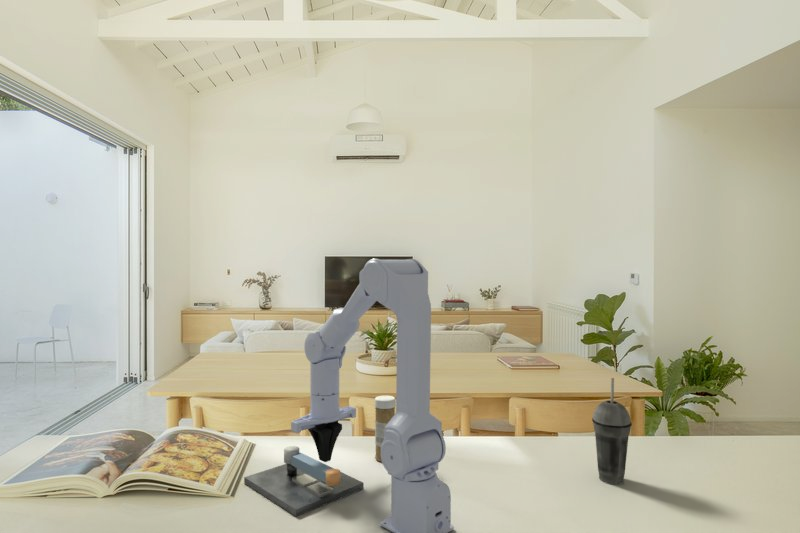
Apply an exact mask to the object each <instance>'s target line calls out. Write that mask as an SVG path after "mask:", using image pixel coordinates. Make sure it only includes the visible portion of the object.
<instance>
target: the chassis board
mask: <svg viewBox="0 0 800 533" xmlns="http://www.w3.org/2000/svg"><path fill="white" fill-rule="evenodd" d="M324 464H325V463H324ZM325 465H327V463H326V464H325ZM243 478H244V481H243V482H244V484H245V485H246V486H248V487H250V488H251V489H252V490H254V491H255V492H257V493H259V494H261V495H262V496H263V497H264V498H266V499H268V500H270V501H271V502H272V503H273V504H276V505H278V506H279V507H280V508H282V509H283V510H285V511H287V512H288V513H289V514H291V515H293V516H294V517H299V516H301V515H304V514H306V513H309V512H311V511H314V510H315V509H318V508H320V507H323V506H326V505H328V504H330V503H332V502H335V501H337V500H340V499H343V498H346V497H348V496H350V495H352V494H354V493H357V492H360V491H362V490H364V482H363V481H361V480H358V478H357V479H356V478H354V477H352V476H351V475H348V474H346V473H344V472H342V471H340V484H339V485H336V486H328V485H326V483H325V482H323V481H321V480H319V479H317V478H315V477H313V476H311V475H310V474H308V473H306V472H304V471H302V470H300V469H298V468H296V467H294V466H292V465H291V464H286V463H284V464H281V465H279V466H274V467H272V468H269V469H266V470H263V471H260V472H257V473H253V474H250V475H247V476H244V477H243Z"/></svg>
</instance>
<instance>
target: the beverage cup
mask: <svg viewBox="0 0 800 533" xmlns="http://www.w3.org/2000/svg"><path fill="white" fill-rule="evenodd" d="M614 385H615V378H614V377H611V378H610V400H605V401H603V402H601V403H599V404H597V406H596V408H595V409H594V412H593V414H592V419H591V421H592V425H593V429H594V433H595V434H594V436H595V448H596V459H597V460H596V462H597V471H598V480H600V482H603V483H605V484H609V485H621V484H623V483H624V480H625V473H626V465H627V464H626V463H627V456H628V446H629V445H628V444H629V435H630V433H631V429H632V428H631V427H632V425H633V424H632V421H631V420H632V419H631V416H630V413H629V411H628V410H627V408H626V407H625V406H624V405H623V404H621V403H620V402H618V401H616V400H614V394H615V393H614V392H615V386H614Z"/></svg>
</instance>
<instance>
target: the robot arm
mask: <svg viewBox="0 0 800 533" xmlns="http://www.w3.org/2000/svg"><path fill="white" fill-rule="evenodd" d="M358 277H359V280H358V281H359V284H358V285H357V287H356V288H355V290H354V291H353V293H352V294H351V296H350V298H349V299H348V301H347V302H346V304H345V306H344V307H338V308H335V309H333V310H331V314H330V316H329V317H328V318H327V319H326V321H325V323H324V324H323V325H322V326H321V327H320V329H319V330H318V331H315V332H309V333H307V336H306V338H305V340H304V345H303V346H304V353H305V357H306V358H307V360H308V361H309V363H310V369H309V370H310V383H309V384H310V385H309V386H310V390H309V391H310V392H309V393H310V404H309V405H310V410H309V413H308V414H305V415H304V416H301V417H299V418H296V419H294V420H293V419H292V420H291V421H290V430H291V432H293V433H295V434H299V433H302V431H306V430H308V432H309V433H310V435H311V437H312V439H313V442H314V444H315V446H316V450H317V455H318V458H319V460H320V462H322V463H323V462H324V463H327V462H328V463H329V462H330V461H331V459H332V455H333V451H334V448H335V444H336V442H337V440H338V437H339V435H340V433H341V432H342V430H343V424H342V423H339V421H342V420H346V419H350V418H351V419H353V418H356V417H357V408H356V407H354V406H351V405H349V406H344V407H340V369H341V368H342V366H343V358H344V357H345V354H346V349H347V347H346V345H347V344H348V343H349V341H350V339H351V338H352V337H353V336H354V335H355V334H356V333H357V331H359V329H360V319H361V318H362V317H363V315H364V314H365V313H367V312H368V310H370V309H371V307H372V306H374V304H375V303H376V302H378V303H379V304H381V305H382V306H383V307H385V308H386V309H387V310H388V309H389V310H391V312H392V313H393V314H394V315H395V316H396V319H397V320H396V321H397V322H396V389H395V390H396V391H395V394H396V395H395V396H396V397H395V399H396V406H395V414H394V416H393V417H392V418H391V420H390V421H389V422H388V424H387V425H386V427H385V436H384V440H383V442H382V445H381V460H382V462H381V463H382V465H383V467H384V469H385V470H386V471H387V474H388V475H389V476H391V480H390V481H391V482H390V484H391V485H390V486H391V488H390V489H391V490H390V491H391V492H390V493H391V494H390V495H391V496H390V497H391V498H390V499H391V500H390V502H391V503H390V505H391V506H390V509H391V510H390V512H391V513H390V514H391V515H390V516H389V517H388V518H385V519H383V520H381V521H380V522H379V525H380V527H383V528H385V529H386V530H388V531H390V532H392V533H450V532H451V531H453V530H454V529H455V528H454V525H453V524H451V520H452V518H451V514H452V512H451V510H452V508H451V506H452V504H451V502H452V501H451V498H452V495H451V489H450V486H449V485H448V484H447V483H445V482H444V481H443V480H441V479H440V477H439V476H438V475H437V473H436V472H437V471H438V470H439V463H441V461H443V459H444V457H445V455H446V449H447V448H446V447H447V446H446V441H445V438H444V435H443V424H442V421H441V420H440V419H439V418H437V417H436V416H435V415H434V414H432V413H431V412H430V411H431V410H430V407H431V351H432V350H431V343H432V342H431V341H432V336H431V334H432V330H431V329H432V305H431V304H432V303H431V300H430V295H429V271H428V270H427V269H426V268H425V267H424V266H423V264H422V262H420V261H419V260H417V259H415V258H407V259H379V258H372V259H369V260H368V261H367V262H366V263H365V264H364V266H363V268H362V269H361V270H360V271H359V276H358ZM319 460H318V461H319Z"/></svg>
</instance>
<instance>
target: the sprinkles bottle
mask: <svg viewBox="0 0 800 533" xmlns="http://www.w3.org/2000/svg"><path fill="white" fill-rule="evenodd" d="M374 407H375V408H374V409H375V411H374V412H375V414H374V415H375V419H374V420H375V422H374V423H375V425H374V426H375V427H374V436H375V437H374V444H375V455H374V459H375V460H376V461H377V462H380V463H382V460H381V445H382V442H383V440H384V436H385V427H386V425H387V424H388V422H389V421H390V420H391V418H392V417H393V416H394V414H395V413H396V397H394V396H393V395H387V394H386V395H377V396H375V398H374Z"/></svg>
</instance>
